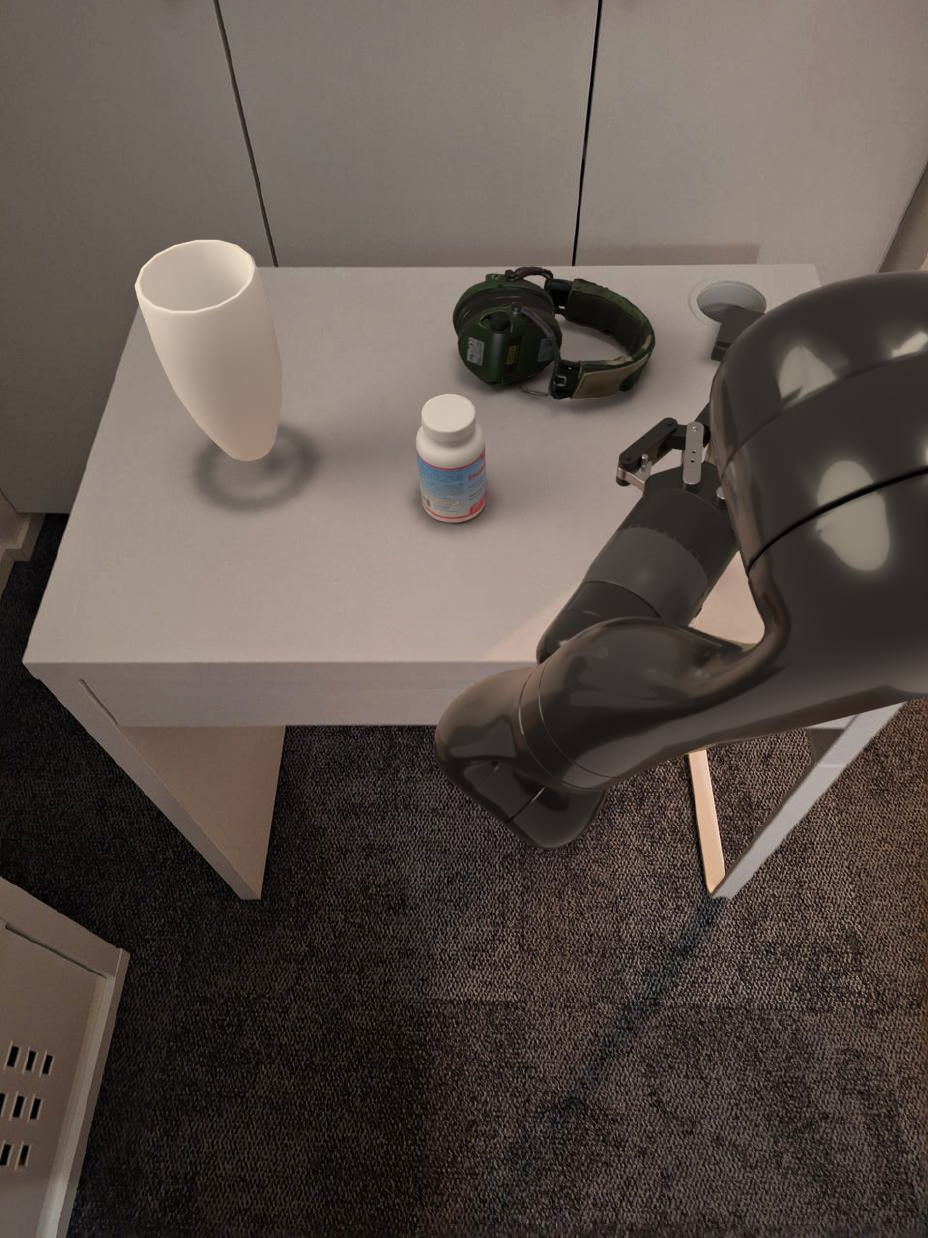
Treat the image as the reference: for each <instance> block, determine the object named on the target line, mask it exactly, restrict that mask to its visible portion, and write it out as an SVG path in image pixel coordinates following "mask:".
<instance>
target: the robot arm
mask: <svg viewBox="0 0 928 1238" xmlns="http://www.w3.org/2000/svg"><path fill="white" fill-rule="evenodd" d="M764 313H765V314H764V315H763V316H761V317H760V318H759V319H758V320H756V321H755V322H754V323H753V324H751V325H750V326H749V327H747V328H746V329H745V330H744V331H743V332H742V333H741V334H740V335H739V336H738V337H737V338H736V340H735V341H734V342H733V343H732V344H731V346H730V347H729V348H728V350H727V351H726V352H725V354H724V356H723V358H722V360H721V361H719V362H720V363H719V365H718V367H717V369H716V371H715V373H714V375H713V378H712V381H711V387H710V392H709V398H708V402H707V403H706V404H705V406H704V407H703V408H702V409H701V411H700V412H699V414H698V415H697V417H696V418H695V419H694V420H693V421H690V422H689V423H688V424H681V423H679V422H678V420H677V419H676V418H674V417H664V418H663V419H661V420H660V421H659V422H658V423H656V424H655V425H654V426H652V428H650V429H649V430H648V431H647V432H645V433H644V434H643V435H642V436H641V437H639V438H638V439H637V440H636V441H634V442H633V443H632V444H631V445H629V446H628V447H627V448H626V449H624V450H623V451H622V452H621V453H619V455H618V462H617V465H616V473H615V483H616V484H617V485H618V486H620V487H625V488H626V487H629V486H634V488H636V489H638V490H640V491H641V492H642V493H641V494H642V495H641V497H640V498H639V500H638V501H637V502H636V503H635V505H634V506H633V508H632V509H631V510H630V511H629V513H628V514H627V516H626V517H625V518H624V519H623V520H622V522H621V523H620V524H619V526H618V527H617V529H615V531H614V533H613V534H612V535H611V537H610V538H609V539H608V541H607V542H606V543H605V544H604V546H603V547H602V548H601V550H600V551H599V552H598V553H597V555H596V556H595V558H594V559H593V560H592V562H591V564H590V565H589V567H588V569H587V571H586V573H585V574H584V576H583V578H582V579H581V582H580V583H579V585H578V586H577V588H576V589H575V591H574V592H573V594H572V595H571V596H570V597H569V599H568V600H567V602H566V603H565V604H564V605H563V607H562V608H561V610H560V611H559V612H558V614H557V615H556V616H555V618H554V619H553V620H552V621H551V622H550V624H549V625H548V626H547V628H546V629H545V631H544V632H543V634H542V635H541V637H540V639H539V641H538V643H537V645H536V649H535V660H536V664H537V665H533V666H528V667H522V668H516V669H510V670H506V671H502V672H499V673H495V674H493V675H490V676H488V677H487V676H486V677H485V678H483V679H481V680H480V681H477V682H476V683H474V684H473V685H471V686H469V687H468V688H466V689H465V690H464V691H463V692H462V693H460V694H459V695H458V696H457V697H456V698H454V700H453V701H452V702H451V703H450V704H449V705H448V706H447V708H446V709H445V711H444V712H443V714H442V715H441V717H440V718H439V721H438V723H437V725H436V728H435V731H434V735H433V745H432V746H433V754H434V758H435V761H436V764H437V766H438V768H439V771H441V773H442V774H443V775H444V777H445V778H446V779H447V780H448V781H449V782H450V783H451V784H452V785H454V786H455V787H457V788H458V789H459V790H460V791H461V792H462V793H463V794H464V795H467V797H469V798H470V799H471V800H472V801H474V802H475V803H476V804H477V805H478V806H480V807H481V808H482V809H483V810H485V811H486V812H487V813H488V814H489V815H491V816H492V817H493V818H494V819H496V820H497V821H498V822H499V823H501V824H502V825H503V826H504V827H505V828H506V829H508V830H509V831H510V832H511V833H513V834H514V835H515V836H516V837H517V838H518V839H520V840H522V841H523V842H524V843H526V844H527V845H529V846H531V847H532V848H535V849H538V850H556V849H558V848H562V847H565V846H567V845H569V844H571V843H573V842H574V841H576V840H578V839H579V838H580V837H581V836H582V835H583V834H584V833H585V832H586V831H587V830H588V829H589V828H590V827H591V826H592V824H593V823H594V822H595V820H596V819H597V818H598V815H599V813H600V812H601V810H602V807H603V806H604V803H605V802H606V799H607V796H608V793H609V790H610V788H612V787H614V786H616V785H618V784H620V783H622V782H624V781H627V780H629V779H631V778H634V777H635V776H638V775H639V774H642V773H644V772H645V771H647V770H650V769H652V768H654V767H656V766H658V765H660V764H663V763H666V762H668V761H670V760H673V759H677V758H680V757H684V756H687V755H689V754H693V753H694V754H695V753H698V752H702V751H707V750H711V749H717V748H721V747H727V746H731V745H737V744H742V743H747V742H751V741H756V740H760V739H764V738H765V739H766V738H768V737H772V736H777V735H781V734H786V733H790V732H794V731H797V730H801V729H807V728H810V727H812V726H818V725H821V724H825V723H829V722H833V721H836V720H841V719H845V718H849V717H852V716H856V715H860V714H865V713H868V712H872V711H876V710H879V709H883V708H887V707H891V706H894V705H898V704H903V703H907V702H910V701H915V700H917V699H922V698H925V697H928V269H909V270H908V269H907V270H898V271H887V272H886V271H885V272H876V273H869V274H864V275H859V276H855V277H851V278H846V279H842V280H836V281H833V282H831V283H828V284H827V283H826V284H825V285H822V286H819V287H817V288H814V289H810V290H808V291H805V292H802V293H800V294H797V295H796V296H794V297H792V298H790V299H788V300H786V301H785V302H782V303H781V304H779V305H777V306H775V307H774V308H772V309H769V310H768V311H766V312H764ZM710 436H711V442H712V448H713V453H714V459H715V464H716V465H714V464H712V463H710V462H707V461H705V460H704V459H703V450H704V449H706V448H707V447H708V443H709V440H710ZM672 450H677V451H681V455H680V464H679V466H675V467H671V468H668V469H666V470H661V471H659V472H658V471H657V472H656V473H655V472H654V473H653V474H651V471H652V467H654V466H655V465H656V464H657V463H658V462H660V460H662V459H664V457H665V456H667V455H668V454H669V453H670V452H672ZM738 552H739V555H740V559H741V562H742V566H743V569H744V574H745V576H746V578H747V586H748V588H749V592H750V594H751V597H752V600H753V602H754V605H755V609H756V611H757V613H758V615H759V617H760V619H761V620H762V623H763V626H764V630H763V635H762V637H761V638H760V640H759V641H758V642H756V643H746V642H740V641H737V640H731V639H727V638H724V637H721V636H717V635H714V634H712V633H708V632H706V631H703V630H700V629H697V628H695V627H692V626H690V625H691V623H692V622H693V620H694V619H696V618H697V617H698V616H699V614H700V613H701V611H702V609H703V606H704V604H705V602H706V601H707V599H708V597H709V596H710V594H711V593H712V591H713V590H714V588H715V587H716V585H717V583H718V582H719V580H720V579H721V577H722V576H723V575H724V573H725V572H726V570H727V568H728V567H729V565H730V564H731V562H732V561H733V559H734V558H735V556H736V555H737V553H738Z"/></svg>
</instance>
